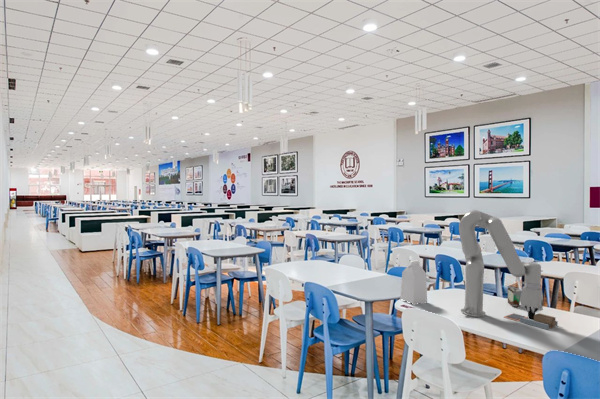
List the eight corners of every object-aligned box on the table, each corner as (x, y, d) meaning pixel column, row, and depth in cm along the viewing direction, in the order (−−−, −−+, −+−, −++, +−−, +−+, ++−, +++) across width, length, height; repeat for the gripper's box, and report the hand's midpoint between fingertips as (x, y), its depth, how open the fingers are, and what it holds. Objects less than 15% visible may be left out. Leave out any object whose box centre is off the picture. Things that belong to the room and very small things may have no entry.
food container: (524, 308, 234) (525, 292, 234) (513, 307, 236) (514, 291, 235) (517, 302, 246) (517, 287, 246) (506, 302, 248) (507, 286, 247)
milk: (413, 304, 239) (414, 263, 238) (400, 300, 249) (401, 260, 248) (427, 302, 245) (428, 261, 244) (413, 297, 255) (414, 258, 254)
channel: (547, 330, 199) (548, 325, 199) (519, 322, 210) (520, 317, 210) (557, 325, 205) (557, 321, 205) (529, 318, 216) (529, 314, 216)
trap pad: (518, 321, 211) (518, 320, 211) (503, 317, 218) (503, 316, 218) (527, 317, 217) (527, 316, 217) (513, 313, 224) (513, 312, 224)
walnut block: (549, 328, 201) (550, 319, 201) (533, 324, 207) (533, 315, 207) (555, 326, 204) (555, 317, 204) (539, 322, 211) (539, 313, 211)
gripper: (514, 283, 214) (514, 316, 215) (544, 289, 202) (543, 324, 202) (521, 282, 218) (520, 313, 219) (550, 287, 206) (549, 321, 207)
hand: (531, 318), depth 211 cm, fingers closed
